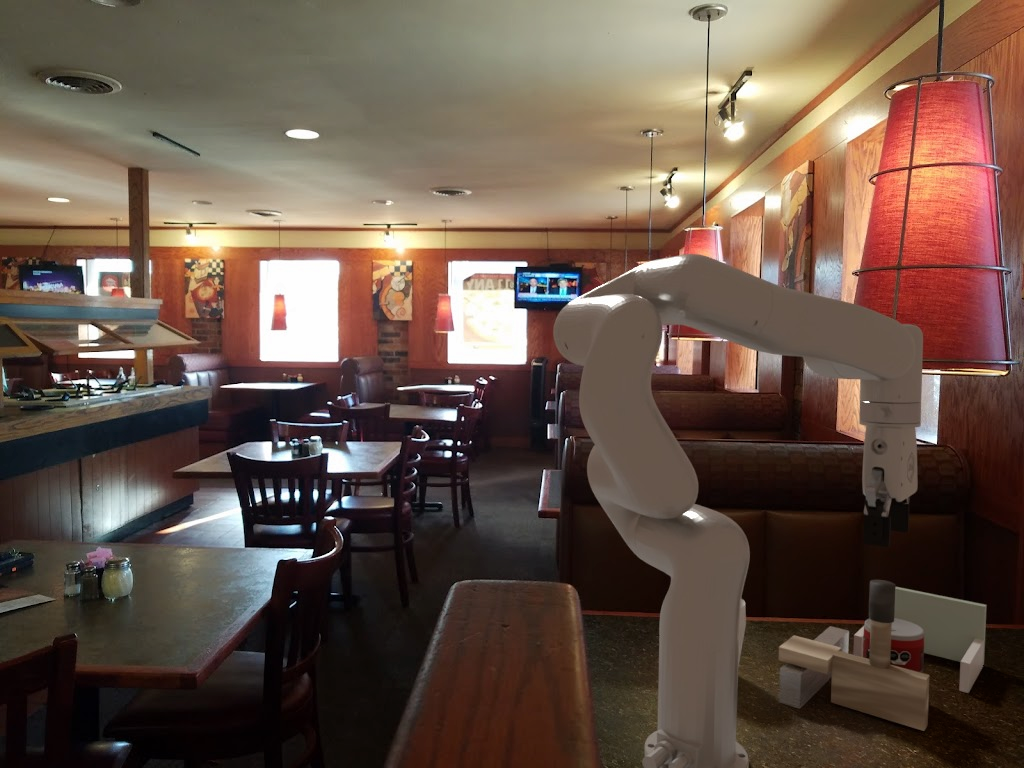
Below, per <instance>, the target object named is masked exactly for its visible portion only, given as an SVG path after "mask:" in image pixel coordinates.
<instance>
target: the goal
mask: <svg viewBox="0 0 1024 768" xmlns="http://www.w3.org/2000/svg"><path fill="white" fill-rule="evenodd" d="M987 606H988V605H987V604H984V603H979V602H974V601H969V600H964V599H959V598H954V597H950V596H949V597H948V596H945V595H944V596H943V595H938V594H934V593H929V592H923V591H919V590H914V589H909V588H905V587H899V586H896V588H895V614H894V618H896V619H901V620H905V621H909V622H911V623H914V624H916V625H918V626H920V627H921V628H922V629H923V630H924V654H925V655H926V654H928V655H931V656H936V657H938V658H939V657H940V658H943V659H947V660H950V661H954V662H959V663H960V664H959V665H960V667H959V687H958V688H959V689H958V691H959V692H963V693H966V694H969V693H970V691H971V689H972V688H973V685H974V684H975V682H976V680H977V679H978V677H979V675H980V673H981V671H982V669H983V667H984V666H985V646H986V625H987V622H986V621H987ZM863 635H864V625H862V627H861V628H860V629H859V630H858V631H857V632H856V633H855V634H854V635H853V650H852V651H853V654H852V655H856V656H860V657H863ZM983 665H984V666H983Z"/></svg>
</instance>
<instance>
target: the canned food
mask: <svg viewBox="0 0 1024 768" xmlns="http://www.w3.org/2000/svg"><path fill="white" fill-rule="evenodd" d="M863 626H864V635H863V658H867V659H869V656H870V629H871V619H870V618H867V619H866V620H865V621H864V625H863ZM924 655H925V653H924V630H923V629H922V628H921V627H920V626H918V625H916V624H914V623H911V622H909V621H905V620H901V619H896V618H894V622H892V628H891V654H890V665H894V666H897V667H901V668H905V669H909V670H912V671H916V672H920V673H924Z"/></svg>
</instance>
